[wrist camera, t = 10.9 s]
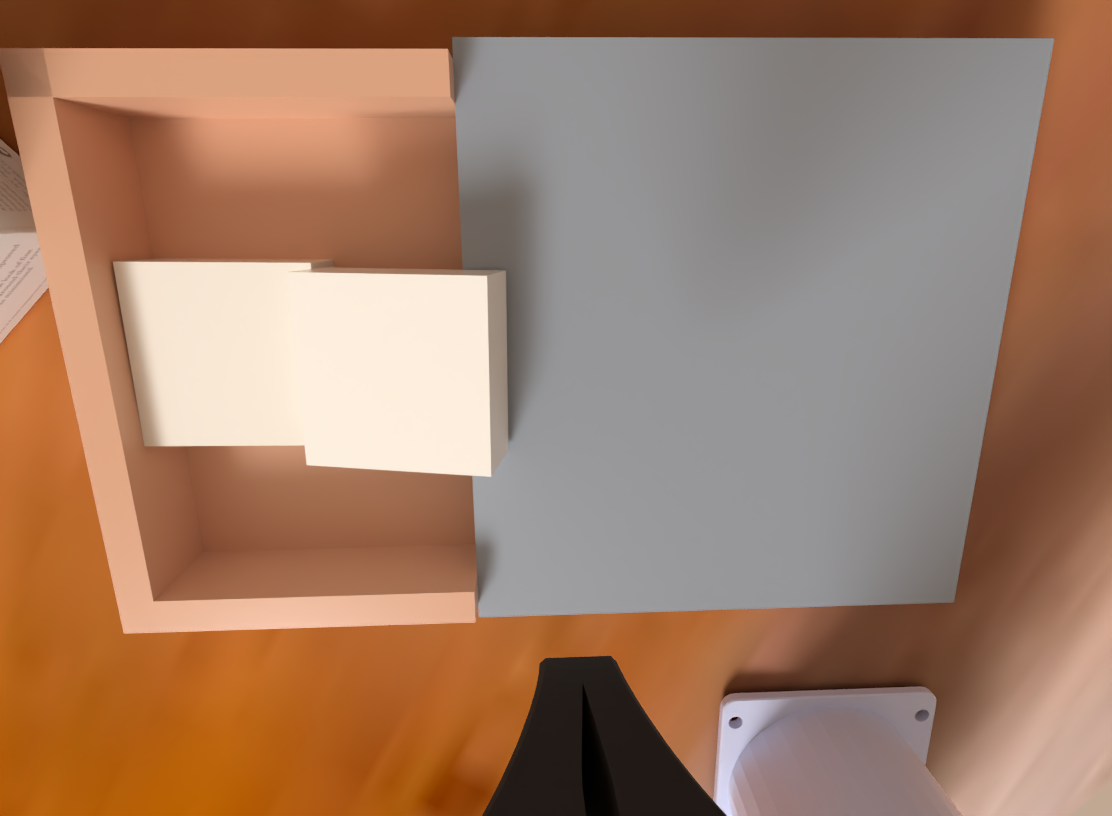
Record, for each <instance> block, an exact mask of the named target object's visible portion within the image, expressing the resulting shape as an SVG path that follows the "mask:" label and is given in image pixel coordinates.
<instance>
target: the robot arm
mask: <svg viewBox="0 0 1112 816" xmlns="http://www.w3.org/2000/svg"><path fill="white" fill-rule="evenodd" d="M935 709H936V697H935V696H934V694H933V693H932V692H931V691H930V690H929V689H928V688H926V687H921V686H918V687H891V688H863V689H836V690H808V691H781V692H754V693H733V694H729V695H727V696H725V697H724V698H723V700H722V701H721V704H720V715H719V729H718V743H717V757H716V771H715V785H714V800H712V799H711V798H710V797H709V795H708V794H707V793H706V792H705V791H704V790H703V789H702V787H701V786H700V785H699V784H698V783H697V781H696V780H695V779H694V778H693V777H692V775H691V774H690V773H689V772H688V770H687V769H686V768H685V767H684V765H683V764H682V763H681V762H680V760H679V759H678V758H677V757H676V755H675V754H674V753H673V751H672V750H671V748H670V747H669V746H668V744H667V743H666V742H665V740H664V739H663V737H662V736H661V735H660V733H659V732H658V730H657V729H656V727H655V726H654V725H653V723H652V722H651V720H650V719H649V717H648V716H647V714H646V713H645V711H644V710H643V708H642V707H641V705H640V703H639V702H638V700H637V699H636V697H635V695H634V694H633V692H632V690H631V689H630V687H629V685H628V683H627V682H626V680H625V678H624V676H623V674H622V672H621V670H620V668H619V666H618V664H617V662H616V661H615V660H614V659H613V658H612V657H611V656H598V657H569V658H545V659H544V660H543V661H542V662H541V663H540V666H539V676H538V682H537V687H536V691H535V694H534V698H533V701H532V704H531V708H530V711H529V714H528V716H527V719H526V722H525V725H524V727H523V730H522V733H521V736H520V738H519V741H518V743H517V746H516V748H515V750H514V752H513V755H512V757H511V759H510V761H509V763H508V766H507V768H506V770H505V772H504V774H503V777H502V779H501V781H500V783H499V785H498V787H497V789H496V791H495V793H494V795H493V797H492V799H491V800H490V802H489V804H488V806H487V808H486V810H485V811H484V813H483V815H482V816H962V815H961V813H960V812H959V810H958V809H957V808H956V806H955V805H954V804H953V802H952V801H951V800H950V798H949V797H948V796H947V794H946V793H945V792H944V790H943V789H942V788H941V786H940V785H939V783H938V782H937V781H936V779H935V778H934V777H933V775H932V774H931V773H930V771H929V770H928V769H927V767H926V766H925V765H926V759H927V753H928V748H929V742H930V737H931V731H932V725H933V720H934V714H935ZM920 710H922V711H920ZM918 711H920V712H919V713H917V712H918ZM916 713H917V714H916ZM733 717H738V718H737V719H736V720H734V721H729V720H730V719H731V718H733Z"/></svg>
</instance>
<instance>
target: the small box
mask: <svg viewBox="0 0 1112 816" xmlns="http://www.w3.org/2000/svg"><path fill="white" fill-rule="evenodd" d="M47 289H48V282H47V277H46V273H45V268H44V264H43V259H42V254H41V250H40V245H39V241H38V236H37V231H36V227H35V222H34V218H33V213H32V208H31V204H30V199H29V195H28V190H27V185H26V181H25V176H24V172H23V167H22V162H21V158H20V156H19V155H18V154H17V153H15V152H14V151H13V150H12V149H11V148H10V147H9V146H8V145H7V144H5V143H4V142H3V141H2V140H1V139H0V343H1V342H2V341H3V340H4V339H5V337H6V336H7V335H8V334H9V333H10V332H11V330H12V329H13V328H14V327H15V326H16V325H17V324H18V322H19V321H20V320H21V319H22V318H23V317H24V315H25V314H26V313H27V312H28V311H29V310H30V308H31V307H32V306H33V305H34V304H35V303H36V301H37V300H38V299H39V298H40V297H41V296H42V294H43V293H44V292H45V291H46V290H47Z"/></svg>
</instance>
